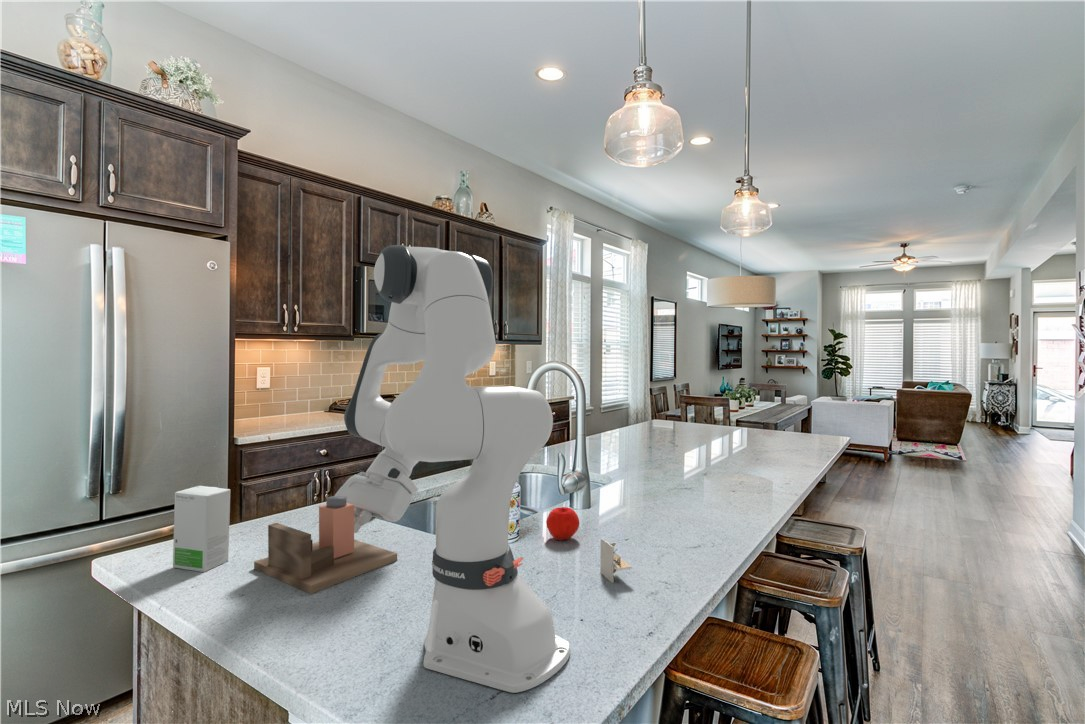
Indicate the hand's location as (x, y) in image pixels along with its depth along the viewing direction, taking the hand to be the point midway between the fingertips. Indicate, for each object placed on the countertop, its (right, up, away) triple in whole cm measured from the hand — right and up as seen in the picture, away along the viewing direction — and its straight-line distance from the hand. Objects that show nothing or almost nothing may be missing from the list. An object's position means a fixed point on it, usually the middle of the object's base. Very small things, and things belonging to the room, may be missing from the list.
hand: (349, 530), depth 119 cm
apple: (+46, -6, +12) cm, 48 cm away
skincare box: (-29, -6, -4) cm, 30 cm away
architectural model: (+55, -7, -10) cm, 56 cm away
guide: (-3, -6, -4) cm, 8 cm away
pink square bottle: (-2, -4, -2) cm, 5 cm away
